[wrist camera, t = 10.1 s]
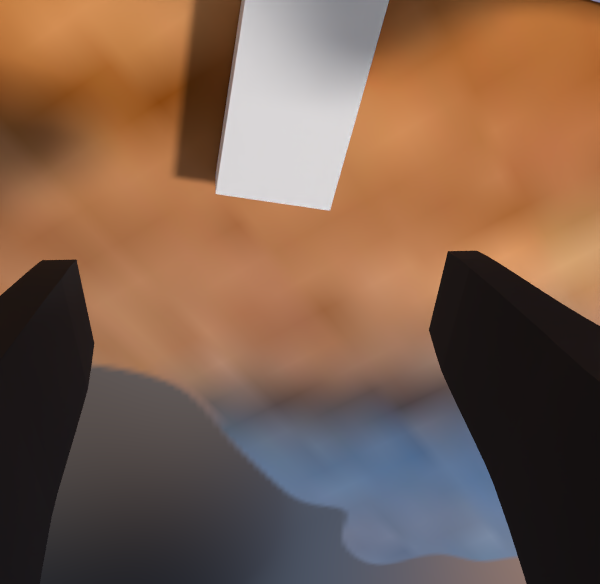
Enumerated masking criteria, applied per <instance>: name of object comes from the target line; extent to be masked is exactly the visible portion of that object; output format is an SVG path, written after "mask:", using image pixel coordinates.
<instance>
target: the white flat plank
mask: <svg viewBox="0 0 600 584" xmlns="http://www.w3.org/2000/svg"><path fill="white" fill-rule="evenodd" d="M388 3H389V0H242V1H241V7H240V14H239V21H238V27H237V34H236V41H235V47H234V54H233V61H232V68H231V74H230V81H229V88H228V94H227V101H226V108H225V114H224V121H223V128H222V135H221V141H220V148H219V155H218V161H217V168H216V175H215V178H216V194H220V195H227V196H234V197H241V198H247V199H254V200H261V201H268V202H275V203H282V204H288V205H295V206H302V207H309V208H316V209H322V210H329V211H330V208H331V205H332V201H333V198H334V194H335V190H336V187H337V183H338V180H339V176H340V173H341V169H342V166H343V162H344V159H345V155H346V152H347V148H348V144H349V141H350V137H351V134H352V130H353V127H354V123H355V120H356V116H357V113H358V109H359V105H360V102H361V98H362V95H363V91H364V88H365V84H366V81H367V77H368V74H369V70H370V67H371V63H372V59H373V56H374V52H375V49H376V45H377V42H378V38H379V35H380V31H381V28H382V24H383V20H384V17H385V13H386V10H387V6H388Z"/></svg>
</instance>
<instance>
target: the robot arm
mask: <svg viewBox="0 0 600 584" xmlns="http://www.w3.org/2000/svg"><path fill="white" fill-rule="evenodd" d="M592 1H596V2H600V0H592ZM429 331H430V335H431V338H432V342H433V345H434V349H435V352H436V355H437V359H438V362H439V365H440V368H441V371H442V373H443V375H444V378H445V380H446V382H447V384H448V386H449V389H450V391H451V393H452V395H453V397H454V399H455V401H456V404H457V406H458V408H459V410H460V412H461V414H462V416H463V418H464V420H465V422H466V424H467V427H468V429H469V431H470V433H471V435H472V437H473V439H474V441H475V443H476V445H477V448H478V450H479V452H480V454H481V456H482V458H483V460H484V462H485V465H486V467H487V469H488V472H489V474H490V476H491V479H492V481H493V484H494V486H495V489H496V492H497V495H498V498H499V501H500V504H501V506H502V509H503V512H504V515H505V518H506V521H507V524H508V527H509V529H510V533H511V536H512V539H513V542H514V545H515V548H516V551H517V555H518V558H519V561H520V564H521V567H522V570H523V573H524V576H525V580H526V583H527V584H600V326H599V325H597V324H595V323H593V322H592V321H590V320H588V319H586V318H585V317H583V316H581V315H580V314H578V313H576V312H575V311H573V310H571V309H570V308H568V307H566V306H565V305H563V304H562V303H560V302H558V301H557V300H555V299H554V298H552V297H551V296H549V295H547V294H546V293H544V292H543V291H541V290H540V289H538V288H537V287H535V286H533V285H532V284H530V283H529V282H527V281H526V280H524V279H523V278H521V277H520V276H518V275H517V274H515V273H513V272H512V271H510V270H509V269H507V268H506V267H504V266H502V265H501V264H499V263H498V262H496V261H494V260H493V259H491V258H489V257H488V256H486V255H484V254H482V253H480V252H478V251H448V254H447V258H446V262H445V266H444V270H443V274H442V278H441V283H440V287H439V291H438V295H437V299H436V303H435V307H434V311H433V316H432V320H431V324H430V328H429ZM93 349H94V340H93V336H92V331H91V326H90V321H89V317H88V312H87V307H86V303H85V298H84V293H83V289H82V284H81V279H80V274H79V270H78V265H77V260H42V261H41V262H39V263H38V264H37V265H35V266H34V267H33V268H32V269H31V270H29V271H28V272H27V273H26V274H25V275H24V276H22V277H21V278H20V279H19V280H18V281H17V282H16V283H14V284H13V285H12V286H11V287H10V288H9V289H8V290H6V291H5V292H4V293H3V294H2V295H1V296H0V584H40V579H41V573H42V566H43V561H44V555H45V550H46V544H47V539H48V533H49V528H50V522H51V516H52V513H53V509H54V505H55V501H56V497H57V493H58V489H59V486H60V483H61V479H62V476H63V472H64V469H65V465H66V462H67V459H68V455H69V452H70V449H71V445H72V442H73V439H74V435H75V432H76V428H77V425H78V421H79V418H80V414H81V411H82V408H83V404H84V400H85V397H86V393H87V390H88V384H89V377H90V371H91V364H92V356H93Z"/></svg>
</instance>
